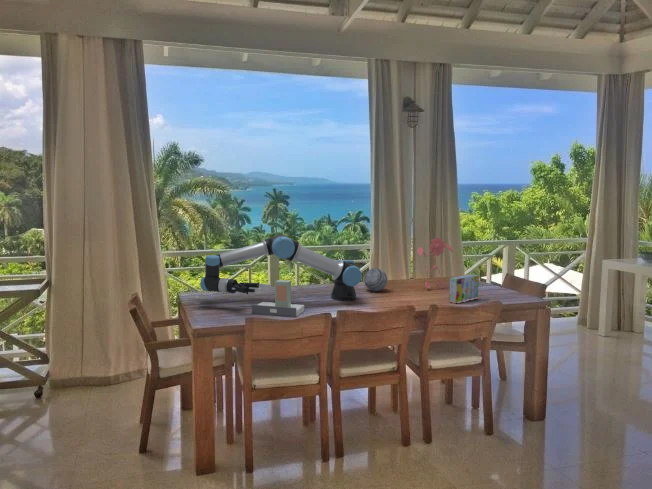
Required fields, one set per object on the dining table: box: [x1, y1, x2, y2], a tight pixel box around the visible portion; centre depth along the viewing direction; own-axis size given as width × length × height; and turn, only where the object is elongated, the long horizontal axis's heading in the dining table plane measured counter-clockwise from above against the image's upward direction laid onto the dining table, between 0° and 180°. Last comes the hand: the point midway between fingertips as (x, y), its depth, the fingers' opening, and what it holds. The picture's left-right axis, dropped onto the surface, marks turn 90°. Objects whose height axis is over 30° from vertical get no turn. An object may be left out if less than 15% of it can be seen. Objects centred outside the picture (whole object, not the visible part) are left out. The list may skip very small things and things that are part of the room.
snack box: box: [448, 274, 480, 302], centre depth 313 cm, size 21×6×15 cm, turn 129°
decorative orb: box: [363, 267, 388, 292], centre depth 338 cm, size 15×14×15 cm
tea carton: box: [274, 279, 292, 307], centre depth 276 cm, size 5×7×14 cm
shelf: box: [251, 301, 305, 318], centre depth 278 cm, size 24×16×4 cm, turn 75°
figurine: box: [416, 236, 454, 289], centre depth 343 cm, size 15×26×35 cm, turn 115°
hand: (265, 289), depth 278 cm, fingers open, 13 cm apart
